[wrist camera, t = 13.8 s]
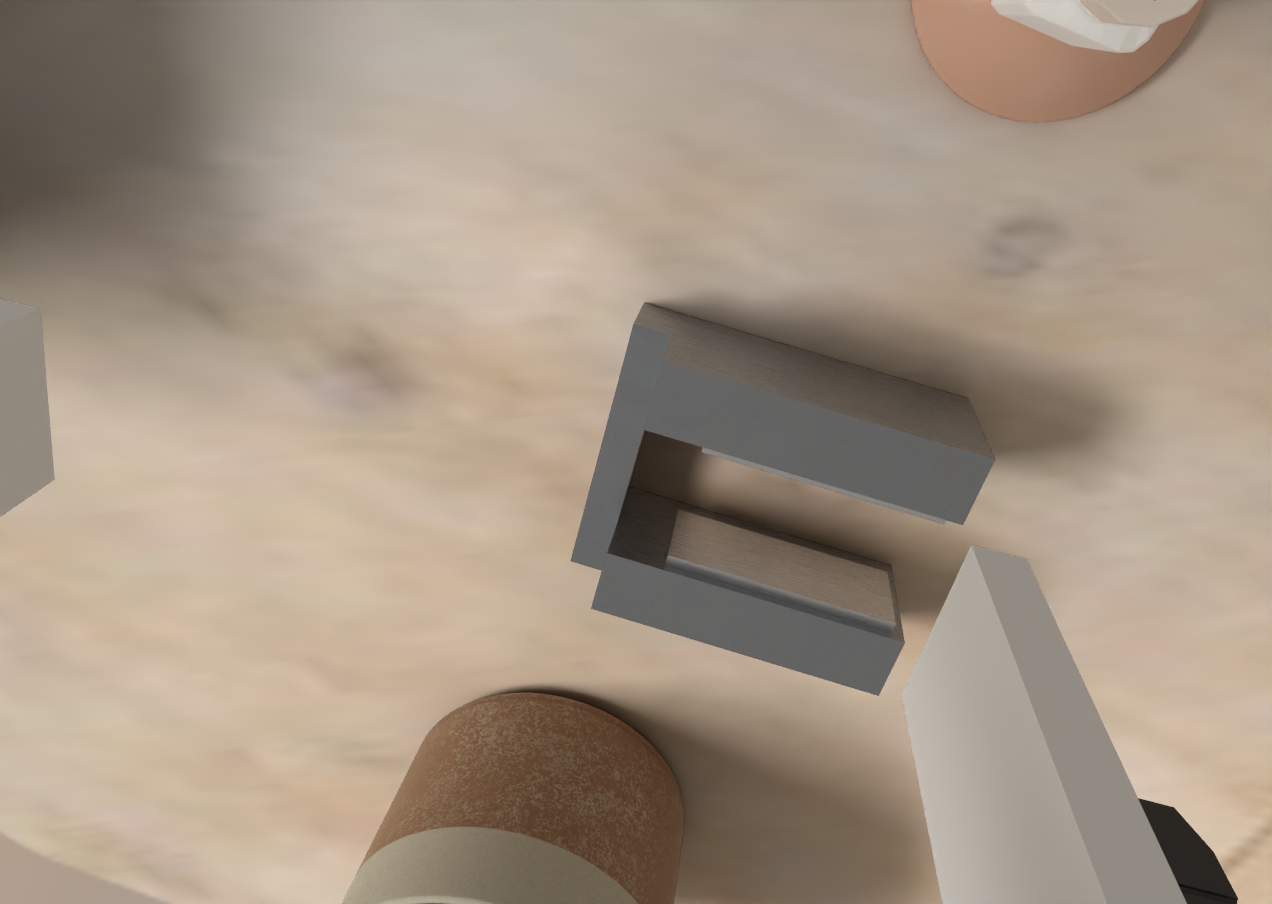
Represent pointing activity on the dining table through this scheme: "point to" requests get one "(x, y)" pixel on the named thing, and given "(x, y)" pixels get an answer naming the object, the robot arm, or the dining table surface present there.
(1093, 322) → the dining table surface
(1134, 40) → the pepper shaker
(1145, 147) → the dining table surface
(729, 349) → the vise
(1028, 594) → the robot arm
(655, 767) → the planter
